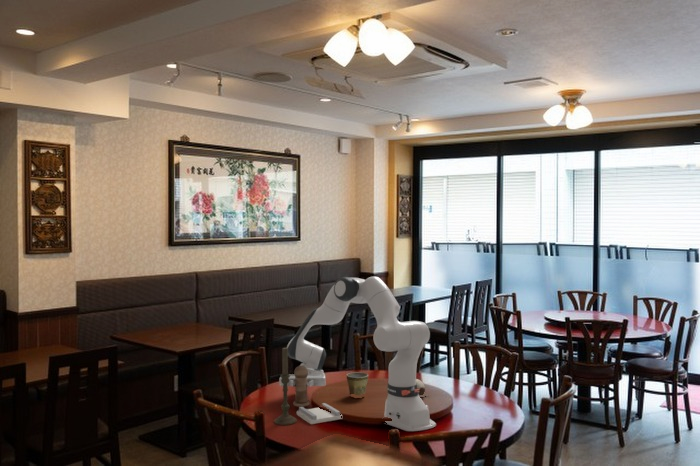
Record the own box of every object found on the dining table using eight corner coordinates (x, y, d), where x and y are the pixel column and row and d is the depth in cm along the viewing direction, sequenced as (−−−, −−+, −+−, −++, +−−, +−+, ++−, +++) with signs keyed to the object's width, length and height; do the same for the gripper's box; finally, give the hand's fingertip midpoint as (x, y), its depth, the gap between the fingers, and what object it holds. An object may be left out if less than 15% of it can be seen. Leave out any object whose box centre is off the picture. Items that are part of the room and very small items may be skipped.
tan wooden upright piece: (312, 405, 257) (311, 366, 257) (297, 407, 253) (296, 368, 253) (305, 401, 263) (305, 363, 263) (290, 403, 260) (290, 365, 259)
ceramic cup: (368, 399, 271) (368, 377, 271) (346, 399, 271) (346, 377, 271) (368, 391, 284) (368, 370, 284) (346, 391, 284) (346, 370, 284)
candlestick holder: (297, 417, 246) (297, 344, 246) (296, 425, 237) (295, 348, 236) (275, 418, 246) (274, 344, 245) (272, 425, 236) (272, 348, 236)
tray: (342, 418, 244) (342, 411, 244) (310, 424, 238) (310, 416, 238) (327, 409, 257) (327, 402, 257) (296, 414, 250) (296, 407, 250)
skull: (395, 392, 280) (408, 373, 283) (410, 405, 283) (422, 387, 286) (408, 397, 269) (421, 378, 272) (423, 411, 272) (436, 392, 275)
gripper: (281, 370, 271) (276, 377, 257) (326, 369, 271) (324, 377, 257) (281, 384, 271) (276, 392, 258) (326, 383, 271) (324, 392, 257)
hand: (301, 384), depth 257 cm, fingers closed on tan wooden upright piece, 5 cm apart
